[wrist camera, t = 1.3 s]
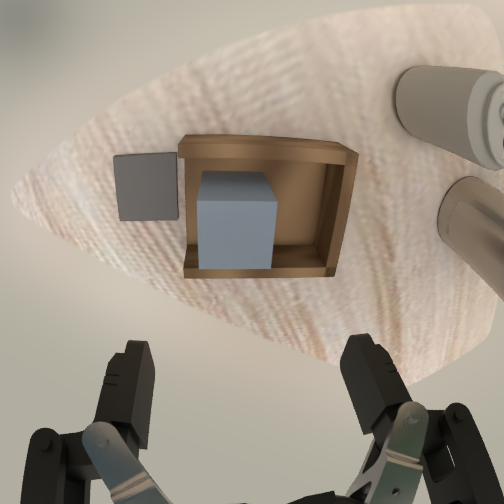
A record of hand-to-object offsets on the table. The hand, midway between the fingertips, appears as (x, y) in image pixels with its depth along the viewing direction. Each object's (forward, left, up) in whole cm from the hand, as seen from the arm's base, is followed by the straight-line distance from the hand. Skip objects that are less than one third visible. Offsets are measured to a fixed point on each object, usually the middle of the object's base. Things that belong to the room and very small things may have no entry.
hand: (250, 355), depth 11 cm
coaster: (+7, -1, -17) cm, 19 cm away
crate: (-3, 0, -17) cm, 18 cm away
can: (-18, -11, -18) cm, 27 cm away
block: (0, 0, -17) cm, 17 cm away
